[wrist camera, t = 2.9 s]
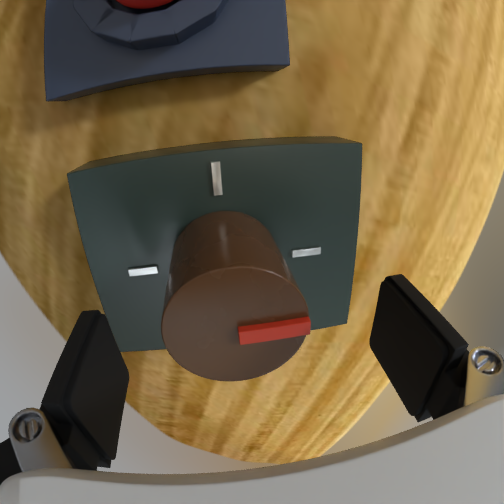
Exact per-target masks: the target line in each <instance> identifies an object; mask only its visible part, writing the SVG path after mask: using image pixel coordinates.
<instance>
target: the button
mask: <svg viewBox="0 0 504 504" xmlns="http://www.w3.org/2000/svg"><path fill="white" fill-rule="evenodd" d="M116 1H117V2H119V3H120V4H122V5H124V6H127V7H130V8H137V9H147V8H154V7H159V6H162V5H165V4H167V3H170V2H172V1H173V0H116Z"/></svg>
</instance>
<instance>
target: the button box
mask: <svg viewBox="0 0 504 504" xmlns="http://www.w3.org/2000/svg"><path fill="white" fill-rule="evenodd" d="M289 65H290V58H289V42H288V28H287V15H286V3H285V0H173V1H172V2H170V3H167V4H165V5H162V6H159V7H154V8H147V9H137V8H130V7H127V6H124V5H122V4H120V3H119V2H117V1H116V0H46V11H45V30H44V70H45V91H46V101H68V100H71V99H75V98H78V97H82V96H86V95H90V94H93V93H97V92H102V91H106V90H110V89H115V88H119V87H124V86H129V85H134V84H139V83H145V82H151V81H157V80H163V79H170V78H178V77H186V76H194V75H204V74H215V73H229V72H249V71H279V70H281V69H283V68H285V67H287V66H289Z"/></svg>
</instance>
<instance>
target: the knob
mask: <svg viewBox="0 0 504 504" xmlns="http://www.w3.org/2000/svg"><path fill="white" fill-rule="evenodd" d="M310 328H311V321H310V319H309V311H308V306H307V304H306V301H305V298H304V297H303V295H302V293H301V291H300V289H299V287H298V285H297V283H296V281H295V279H294V277H293V275H292V273H291V271H290V269H289V267H288V266H287V264H286V262H285V260H284V258H283V256H282V254H281V252H280V250H279V248H278V246H277V244H276V243H275V241H274V239H273V237H272V235H271V234H270V232H269V231H268V229H267V228H266V227H265V226H264V225H263V224H262V223H261V222H259V221H258V220H256V219H255V218H253V217H251V216H249V215H247V214H244V213H240V212H236V211H217V212H212V213H209V214H205V215H203V216H201V217H199V218H197V219H196V220H194V221H192V222H191V223H190V224H189V225H187V226H186V227H185V229H184V230H183V231H182V232H181V233H180V235H179V236H178V238H177V240H176V242H175V245H174V248H173V252H172V258H171V263H170V269H169V275H168V280H167V287H166V293H165V299H164V306H163V312H162V319H161V335H162V339H163V342H164V345H165V347H166V349H167V350H168V352H169V354H170V355H171V356H172V358H173V359H174V360H175V361H176V362H177V363H178V364H179V365H181V366H182V367H183V368H185V369H186V370H188V371H190V372H192V373H194V374H196V375H198V376H201V377H204V378H208V379H212V380H218V381H242V380H247V379H252V378H256V377H259V376H262V375H265V374H267V373H269V372H271V371H273V370H275V369H277V368H278V367H280V366H282V365H283V364H284V363H286V362H287V361H288V360H289V359H290V358H291V357H292V356H293V355H294V354H295V353H296V352H297V351H298V349H299V348H300V346H301V345H302V343H303V341H304V339H305V337H306V335H308V334H310Z"/></svg>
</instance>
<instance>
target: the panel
mask: <svg viewBox="0 0 504 504" xmlns="http://www.w3.org/2000/svg"><path fill="white" fill-rule="evenodd" d="M361 171H362V143H359V142H355V141H351V140H348V139H344V138H340V137H283V138H263V139H248V140H235V141H223V142H213V143H203V144H194V145H186V146H178V147H170V148H163V149H156V150H150V151H144V152H137V153H132V154H126V155H120V156H115V157H110V158H105V159H100V160H95V161H90V162H88V163H86V164H84V165H82V166H80V167H78V168H76V169H75V170H73V171H71V172H69V173H67V177H68V182H69V187H70V192H71V197H72V202H73V206H74V211H75V215H76V219H77V223H78V227H79V231H80V235H81V239H82V243H83V246H84V250H85V253H86V257H87V260H88V264H89V267H90V270H91V273H92V277H93V280H94V283H95V286H96V289H97V292H98V295H99V298H100V301H101V303H102V306H103V309H104V312H105V315H106V317H107V320H108V323H109V325H110V328H111V330H112V333H113V335H114V338H115V340H116V343H117V345H118V348H119V350H120V352H128V351H145V350H159V349H166V347H165V345H164V342H163V339H162V335H161V319H162V312H163V306H164V299H165V293H166V287H167V280H168V275H169V269H170V263H171V258H172V252H173V248H174V245H175V242H176V240H177V238H178V236H179V235H180V233H181V232H182V231H183V230H184V229H185V227H186V226H187V225H189V224H190V223H191V222H192V221H194V220H196V219H197V218H199V217H201V216H203V215H205V214H209V213H212V212H217V211H236V212H240V213H244V214H247V215H249V216H251V217H253V218H255V219H256V220H258V221H259V222H261V223H262V224H263V225H264V226H265V227H266V228H267V229H268V231H269V232H270V234H271V235H272V237H273V239H274V241H275V243H276V244H277V246H278V248H279V250H280V252H281V254H282V256H283V258H284V260H285V262H286V264H287V266H288V267H289V269H290V271H291V273H292V275H293V277H294V279H295V281H296V283H297V285H298V287H299V289H300V291H301V293H302V295H303V297H304V298H305V301H306V304H307V306H308V311H309V319H310V321H311V328H310V330H315V329H321V328H326V327H331V326H337V325H342V324H346V323H347V319H348V312H349V305H350V298H351V291H352V283H353V275H354V266H355V257H356V247H357V236H358V224H359V210H360V193H361Z"/></svg>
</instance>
